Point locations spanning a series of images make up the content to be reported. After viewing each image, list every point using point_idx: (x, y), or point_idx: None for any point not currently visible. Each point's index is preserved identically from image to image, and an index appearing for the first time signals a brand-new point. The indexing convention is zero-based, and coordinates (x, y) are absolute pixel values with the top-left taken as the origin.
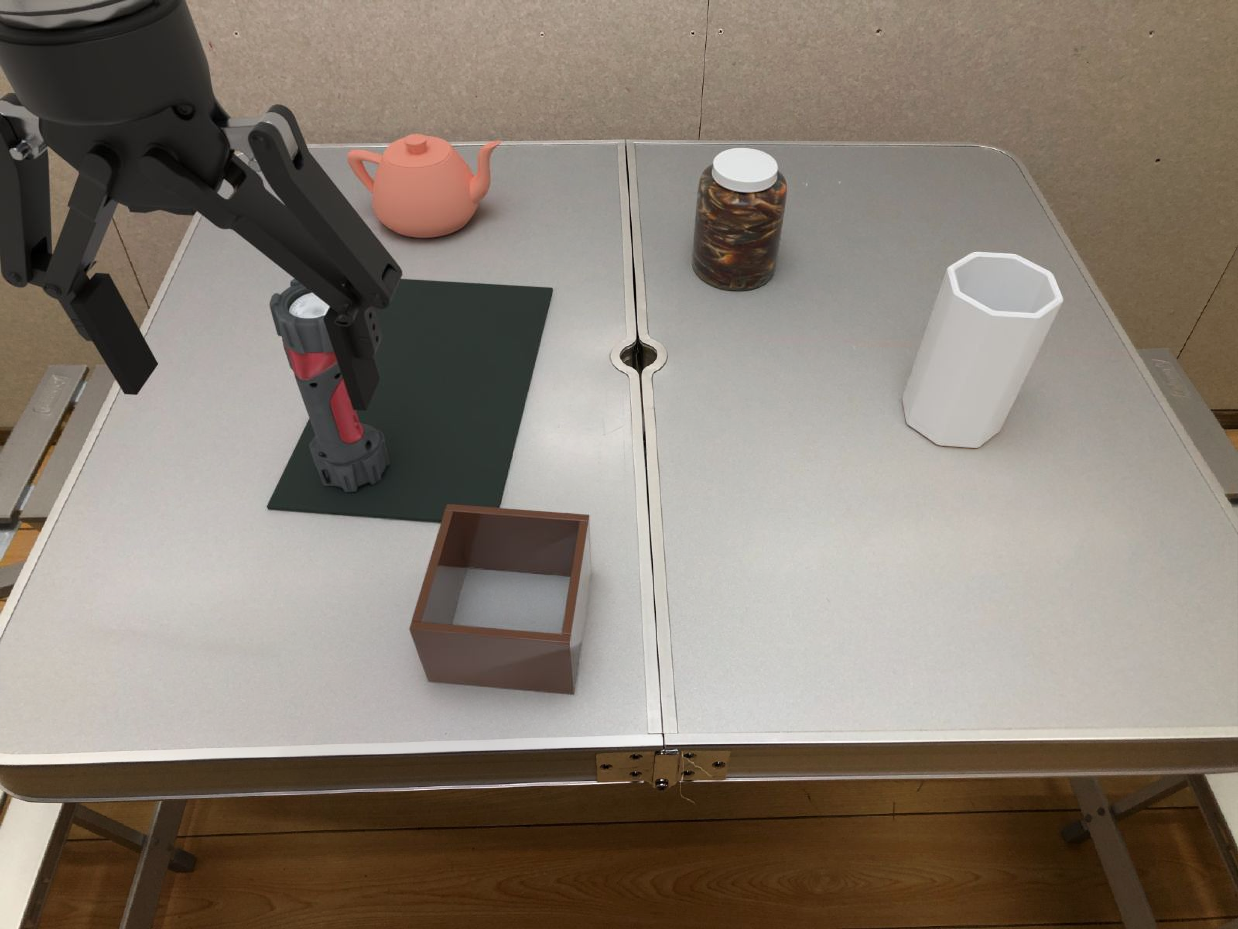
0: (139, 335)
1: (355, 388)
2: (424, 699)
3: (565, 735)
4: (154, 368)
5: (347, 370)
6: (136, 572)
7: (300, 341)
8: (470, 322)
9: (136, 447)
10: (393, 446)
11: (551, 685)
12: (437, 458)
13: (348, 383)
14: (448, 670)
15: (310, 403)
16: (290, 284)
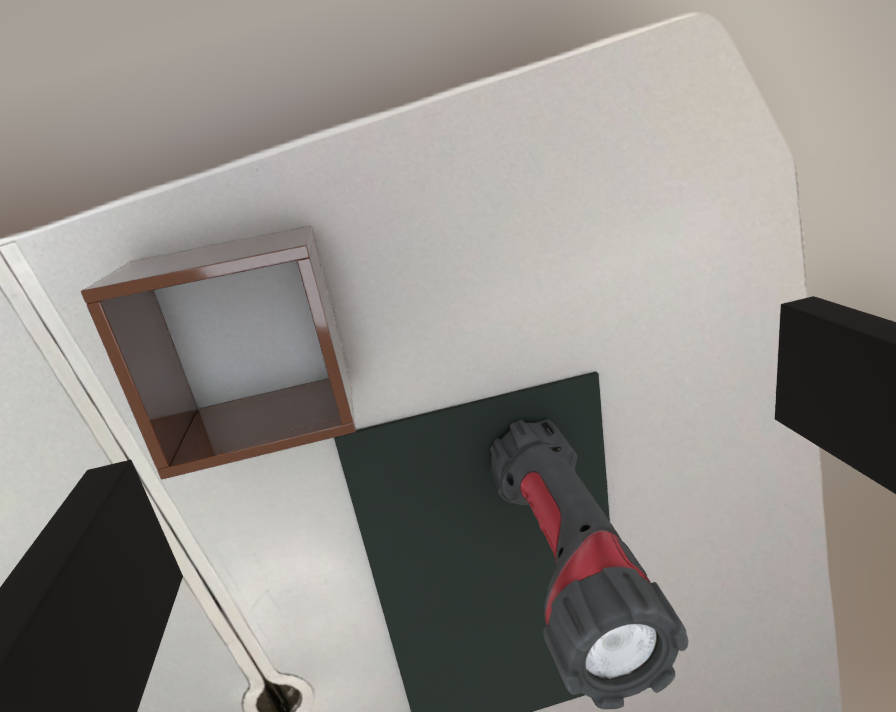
0: (869, 465)
1: (54, 526)
2: (304, 203)
3: (114, 209)
4: (777, 401)
5: (24, 587)
6: (695, 253)
7: (613, 586)
8: (491, 669)
9: (770, 395)
10: (497, 491)
11: (152, 259)
12: (441, 494)
13: (68, 535)
14: (277, 236)
15: (583, 502)
16: (673, 669)
